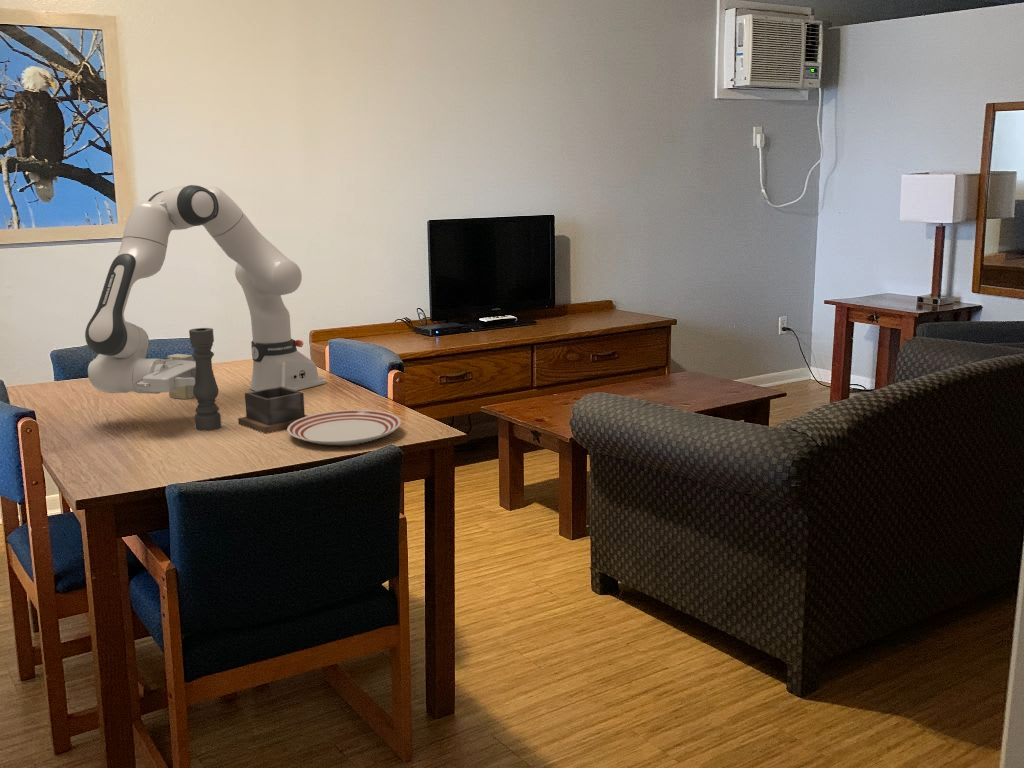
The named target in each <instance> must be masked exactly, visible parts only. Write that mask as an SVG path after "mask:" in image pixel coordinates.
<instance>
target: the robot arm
mask: <svg viewBox="0 0 1024 768" xmlns="http://www.w3.org/2000/svg"><path fill="white" fill-rule="evenodd" d="M200 226H202V227H204V229H205V230H206V232H207V233H208V234H209V235H210V237H211V238H212V239H213V240H214V241H215V242H216V243H217V245H218V246H219V247H220V248H221V250H222V251H223V252H224V253H225V255H226V256H227V257H228V258H230V259H231V260H233V261H234V262H235V263H237V264H236V265H235V270H234V275H235V279H236V281H237V282H238V283H239V285H240V286H241V288H242V290H243V294H244V296H245V300H246V303H247V306H248V310H249V316H250V322H251V334H252V336H251V337H252V340H251V343H250V344H251V345H250V346H251V356H252V360H253V361H252V363H253V364H252V375H251V383H250V386H249V389H250V390H251V391H253V392H254V391H260V390H265V389H271V388H276V387H284V388H288V389H291V390H295V391H300V390H304V389H307V388H313V387H316V386H320V385H323V384H327V380H326V379H327V378H325V377H323V376H320V375H319V373H318V368H317V365H316V363H315V362H314V360H312V359H310V358H309V357H308V356H305V355H304V354H303V353H301V352H300V351H299V350H298V349H297V347H299V348H302V347H303V346H304V343H305V342H304V341H302V340H300V339H296V340H295V339H293V338H292V331H291V330H292V329H291V314H290V312H289V310H288V309H287V307H286V305H285V303H284V301H283V298H282V296H284V295H285V296H286V295H289V294H292V293H294V292H296V291H297V290H298V289H299V287H300V285H301V282H302V277H303V276H302V270H301V268H300V267H299V265H298V264H297V263H295V262H294V261H292V260H291V259H290V258H288V257H287V256H286V255H285V254H284V253H282V252H281V251H280V249H278V248H277V247H276V246H275V245H274V244H273V243H271V242H270V241H269V240H268V239H267V237H265V236H263V235H262V233H261V232H260V231H259V230H258V229H257V228H256V226H254V224H253V223H252V222H251V220H250V219H249V217H248V216H247V215H246V214H245V212H244V211H243V210H242V209H241V208H240V207H239V205H238V204H237V203H236V202H235V201H234V200H233V199H232V198H231V197H230V196H229V195H228V194H227V193H226V192H224V191H223V190H222V189H221V188H218V187H217V186H209V187H203V186H201V185H196V184H195V185H194V184H191V185H189V184H188V185H187V186H185V185H182V186H174V187H171V188H170V189H169V188H168V189H165V190H161V191H158V192H156V193H155V194H153V195H152V196H151V197H149V199H148V200H145V201H143V200H142V201H139V202H137V203H136V204H133V207H132V209H131V210H130V213H129V215H128V217H127V220H126V222H125V226H124V230H123V235H122V239H121V244H120V248H119V251H118V252H117V256H116V257H115V258H114V259H113V260H112V262H111V265H110V267H109V270H108V271H107V275H106V278H105V281H104V284H103V288H102V291H101V295H100V297H99V300H98V303H97V306H96V309H95V311H94V313H93V315H92V316H91V318H90V320H89V321H88V322H87V325H86V327H85V330H84V331H85V333H84V338H85V342H86V345H88V346H89V347H88V348H89V349H90V350H91V351H92V352H95V353H96V354H97V355H96V356H97V357H96V358H95V359H94V360H93V359H92V360H91V361H90V362H89V364H88V367H87V376H88V379H89V382H90V383H91V385H92V386H93V387H94V388H95V389H96V390H99V391H101V392H106V393H111V392H115V393H119V394H120V393H121V394H126V393H131V392H133V393H137V394H150V395H153V394H155V395H158V394H161V393H169V392H170V391H172V390H174V389H176V388H178V387H182V386H188V385H190V386H193V385H195V384H197V378H196V377H195V376H196V362H195V360H194V361H186V360H173V358H167V357H162V358H147V355H148V351H149V347H150V338H149V335H148V333H147V332H146V330H145V329H143V328H142V327H140V326H138V325H136V324H133V323H131V322H128V321H126V320H125V310H126V308H127V307H126V306H127V304H128V300H129V296H130V293H131V290H132V288H133V286H134V284H135V283H136V282H137V281H139V280H141V279H148V278H150V277H154V276H155V275H156V274H157V273H159V272H160V271H161V269H162V267H163V265H164V262H165V260H166V254H167V249H168V244H169V237H170V234H171V232H172V231H180V230H181V231H182V230H187V229H189V228H190V229H191V228H193V227H200ZM212 371H213V372H214V370H213V369H212ZM115 393H114V394H115Z"/></svg>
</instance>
